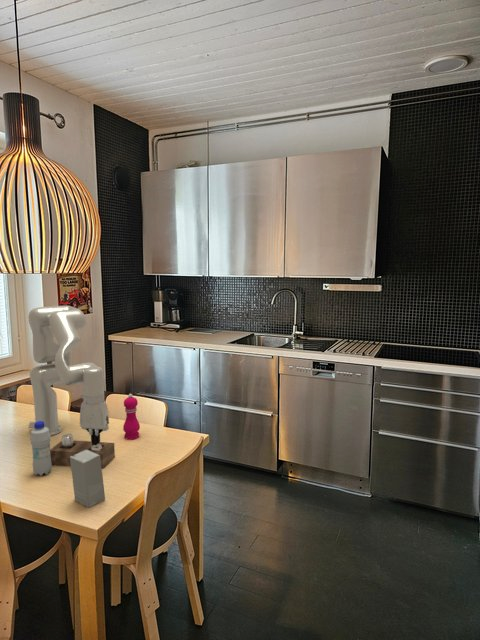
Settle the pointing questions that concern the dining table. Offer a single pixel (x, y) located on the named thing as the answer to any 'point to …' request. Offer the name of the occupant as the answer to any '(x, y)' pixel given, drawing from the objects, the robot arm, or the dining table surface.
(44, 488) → the dining table surface
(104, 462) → the socket block
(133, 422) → the pepper mill
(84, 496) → the skincare box
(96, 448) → the peg
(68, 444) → the peg
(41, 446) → the bottle
